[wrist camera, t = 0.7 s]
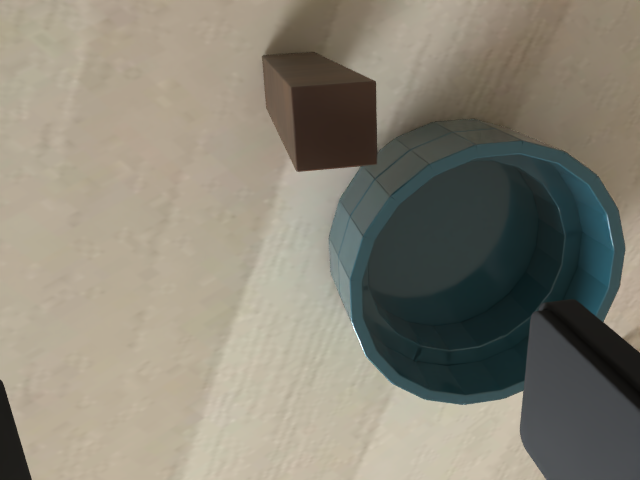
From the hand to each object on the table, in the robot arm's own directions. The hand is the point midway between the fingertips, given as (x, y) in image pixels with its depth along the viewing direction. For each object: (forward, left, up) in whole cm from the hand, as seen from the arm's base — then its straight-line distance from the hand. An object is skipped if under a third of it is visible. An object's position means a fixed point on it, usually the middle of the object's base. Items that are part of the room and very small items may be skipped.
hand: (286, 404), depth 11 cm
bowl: (+6, +11, -21) cm, 24 cm away
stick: (-3, +3, -21) cm, 21 cm away
